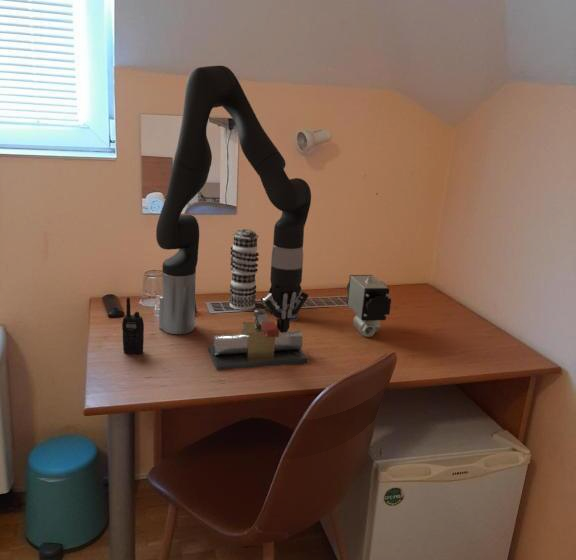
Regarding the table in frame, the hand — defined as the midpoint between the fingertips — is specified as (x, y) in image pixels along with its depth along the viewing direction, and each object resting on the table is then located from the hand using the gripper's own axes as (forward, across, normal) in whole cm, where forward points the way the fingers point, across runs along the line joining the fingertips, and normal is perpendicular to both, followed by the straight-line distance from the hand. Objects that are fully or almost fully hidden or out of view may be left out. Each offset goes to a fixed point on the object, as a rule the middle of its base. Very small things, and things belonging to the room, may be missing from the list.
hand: (282, 331), depth 145 cm
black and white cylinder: (+11, +16, +46) cm, 50 cm away
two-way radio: (+11, -28, +27) cm, 41 cm away
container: (+11, +24, +30) cm, 40 cm away
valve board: (+11, -1, +10) cm, 15 cm away
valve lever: (0, -2, +5) cm, 5 cm away
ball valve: (+12, +38, +11) cm, 41 cm away
